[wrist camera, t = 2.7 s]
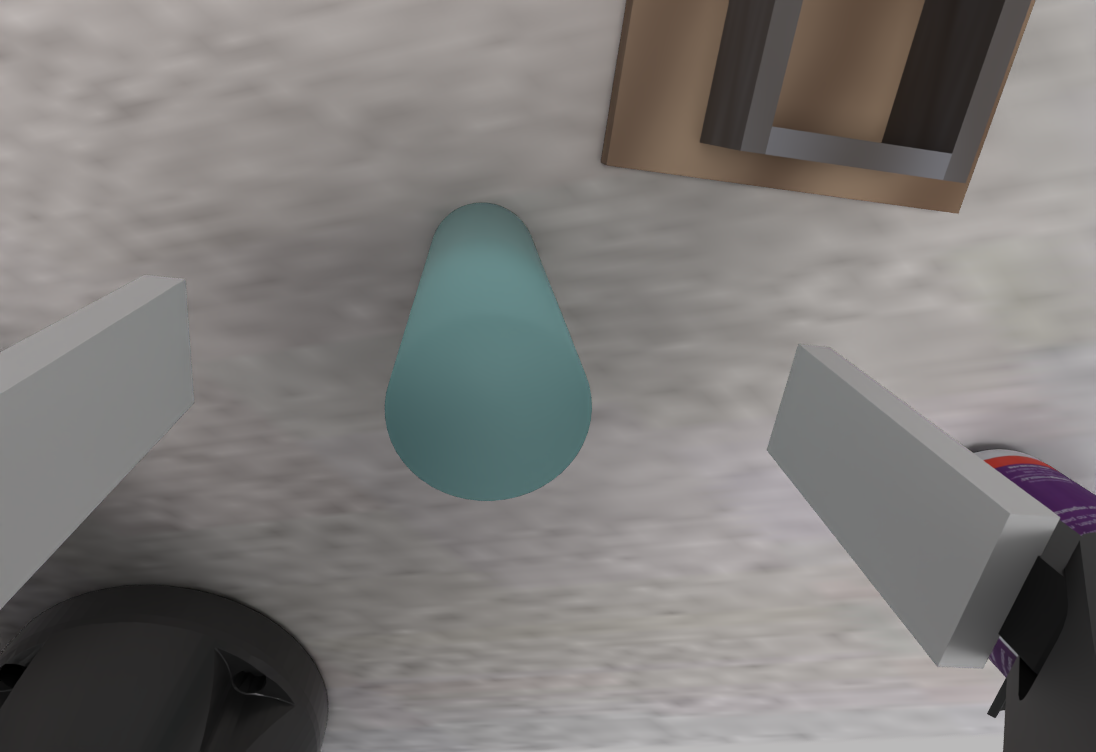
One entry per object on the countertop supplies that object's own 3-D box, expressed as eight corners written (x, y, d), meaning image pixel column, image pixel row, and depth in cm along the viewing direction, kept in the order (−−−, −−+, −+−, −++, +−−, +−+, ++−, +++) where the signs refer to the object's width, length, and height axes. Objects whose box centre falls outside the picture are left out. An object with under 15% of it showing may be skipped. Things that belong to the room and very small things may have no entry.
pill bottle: (1020, 569, 35) (1351, 857, 22) (874, 583, 34) (1124, 887, 21) (1062, 433, 32) (1480, 672, 19) (903, 445, 31) (1218, 701, 18)
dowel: (427, 299, 26) (380, 494, 13) (434, 196, 25) (390, 303, 12) (527, 309, 27) (575, 506, 14) (540, 209, 25) (607, 326, 12)
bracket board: (600, 162, 25) (630, 177, 20) (665, -244, 20) (723, -349, 16) (938, 208, 27) (1038, 232, 22) (1064, -152, 22) (1223, -219, 18)
